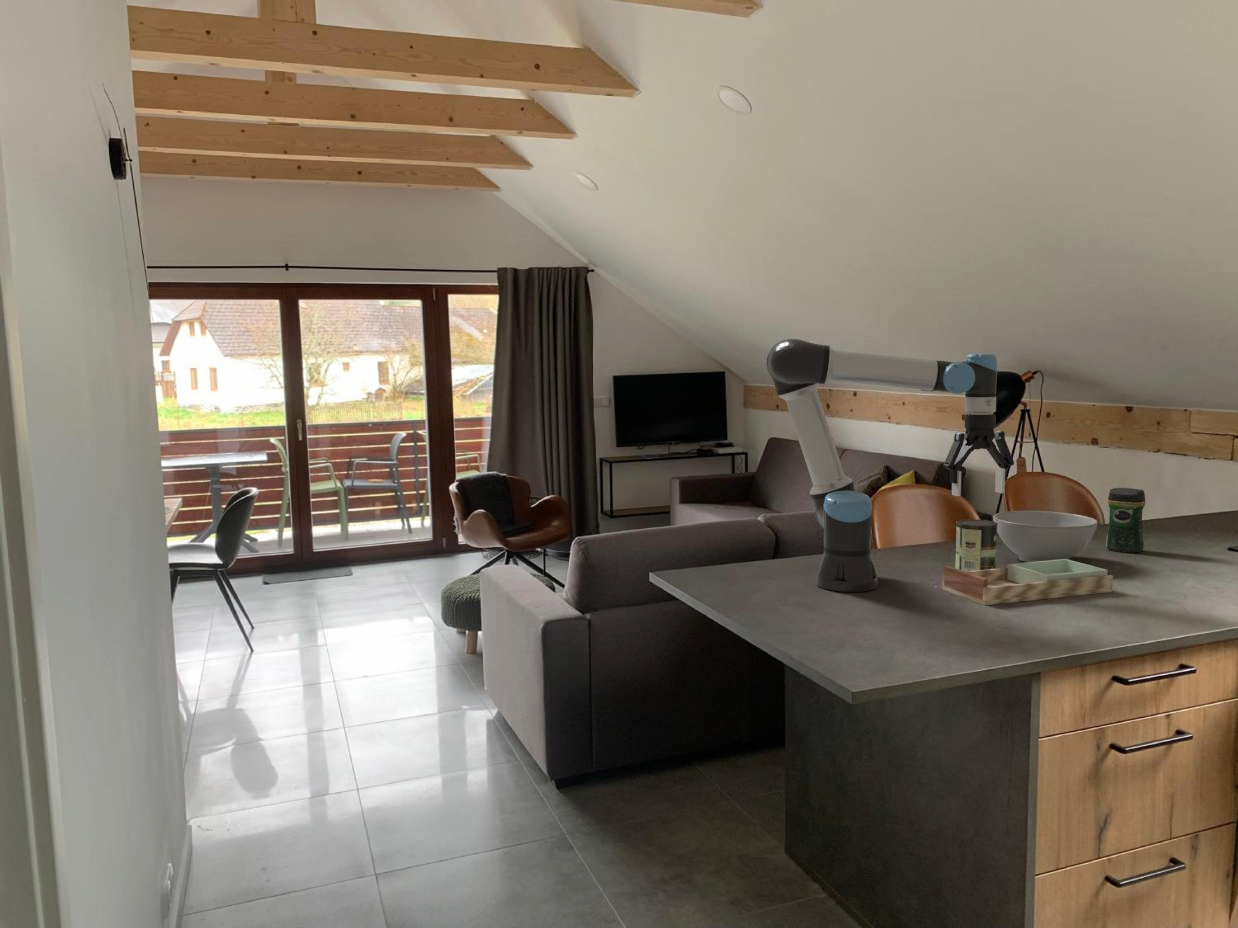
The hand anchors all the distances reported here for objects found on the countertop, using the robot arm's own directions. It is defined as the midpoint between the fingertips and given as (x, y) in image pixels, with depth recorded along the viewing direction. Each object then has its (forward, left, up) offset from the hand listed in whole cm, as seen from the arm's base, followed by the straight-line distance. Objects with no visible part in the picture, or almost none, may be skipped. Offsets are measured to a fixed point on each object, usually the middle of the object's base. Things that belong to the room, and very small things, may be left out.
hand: (978, 494), depth 244 cm
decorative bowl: (+29, +8, -22) cm, 37 cm away
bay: (0, -18, -22) cm, 28 cm away
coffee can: (0, 0, -22) cm, 22 cm away
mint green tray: (+9, -18, -20) cm, 29 cm away
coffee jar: (+61, +11, -22) cm, 66 cm away
